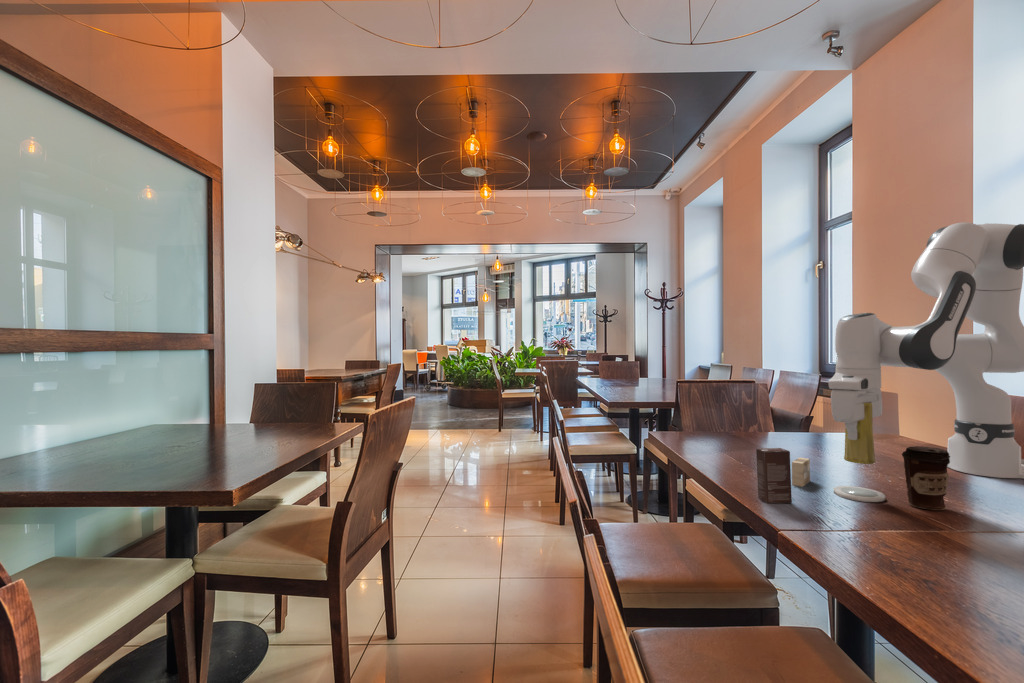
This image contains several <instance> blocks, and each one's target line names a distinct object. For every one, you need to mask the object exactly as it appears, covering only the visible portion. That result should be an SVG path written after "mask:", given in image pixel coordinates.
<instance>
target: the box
mask: <svg viewBox="0 0 1024 683" xmlns="http://www.w3.org/2000/svg"><path fill="white" fill-rule="evenodd" d="M755 451H756V454H755V455H756V473H757V474H756V476H757V478H756V479H757V497H758V500H760V501H762V502H764V503H766V504H778V503H779V504H780V503H781V504H782V503H783V504H784V503H785V504H786V503H788V504H789V503H790V504H792V502H793V500H792V498H793V497H792V469H791V451H790V450H787V449H785V448H781V447H774V448H773V447H768V448H767V447H766V448H765V447H762V448H761V447H760V448H757V447H756V449H755Z"/></svg>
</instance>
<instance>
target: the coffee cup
mask: <svg viewBox="0 0 1024 683" xmlns="http://www.w3.org/2000/svg"><path fill="white" fill-rule="evenodd" d="M901 455H902V456H901V457H902V458H903V466H904V476H905V482H906V489H907V490H906V495H907V498H908V499H907V500H908V505H910V506H912V507H914V508H919V509H924V510H931V511H943V510H946V509H947V507H946V504H945V499H944V497H945V496H946V495H947V489H948V483H949V473H948V467H947V466H948V464H949V463H950V459H949V458H950V456H949V453H948V452H947V450H945V449H943V448H939V447H932V446H931V447H930V446H921V445H920V446H916V445H915V446H908V447H906V449H905V450H904V451H903V452H902V454H901Z"/></svg>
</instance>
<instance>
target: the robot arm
mask: <svg viewBox="0 0 1024 683" xmlns="http://www.w3.org/2000/svg"><path fill="white" fill-rule="evenodd" d="M910 273H911V274H910V276H911V280H912V282H913V284H914V286H915V287H916V289H918V290H920V291H921V292H922V293H924V294H926V295H928V296H930V297H932V298H936V301H935V303H934V306H933V308H932V309H931V312H930V314H929V315H928V318H927V319H926V320H925V321H923V322H921V323H918V324H916V325H908V326H907V325H906V326H892V325H891V324H888V323H886V322H884V321H882V320H880V318H879V317H878V316H877V314H876V313H873V312H861V313H860V312H859V313H855V314H848V315H845V316H843V317H841V318H839V319H838V321H837V323H836V324H837V325H836V330H835V341H834V344H835V346H834V347H835V353H836V357H837V360H836V365H835V373H834V374H833V376H832V377H830V379H829V380H828V388H829V390H831V391H830V392H831V393H830V406H831V407H830V408H831V415H832V418H833V420H834V421H835V422H839V423H844V426H845V427H846V429H847V432H848V439H850V440H857V439H859V432H857V425H858V421H860V420H864V418H865V412H864V403H870V402H872V416H873V418H876V417H880V416H882V414H883V410H884V408H883V407H884V406H883V396H882V367H883V366H885V367H895V368H896V367H897V368H913V369H919V370H925V371H933V370H934V371H935V372H937V373H939V374H940V375H941V376H942V377H944V379H945V380H946V381H947V382H948V384H949V385H950V387H951V389H952V391H953V394H954V399H955V409H956V410H955V411H956V414H955V416H956V419H954V423H953V427H954V432H955V433H954V435H951V436H950V437H948V438H947V450H946V451H947V452H948V453H949V456H950V458H949V459H950V463H949V464H948V466H947V468H949V469H951V470H953V471H957V472H961V473H966V474H970V475H977V476H983V477H989V478H990V477H991V478H999V479H1001V478H1003V479H1023V480H1024V458H1022V446H1020V444H1018V443H1017V441H1016V440H1015V439H1014V438H1015V436H1016V435H1015V433H1016V429H1015V425H1014V424H1013V423H1012V398H1011V396H1010V395H1009V394H1008V393H1007V392H1006V391H1005V390H1004V389H1002V388H1000V387H997V386H995V385H992V384H989V383H987V382H986V379H985V378H984V373H986V374H987V373H991V374H993V373H995V374H996V373H1000V374H1001V373H1002V374H1006V373H1007V374H1017V373H1023V372H1024V324H1023V322H1022V320H1021V317H1020V303H1021V294H1022V288H1023V283H1024V282H1023V280H1024V224H1023V223H1018V224H1009V223H984V224H976V223H972V222H957V223H952V224H950V225H947V226H944V227H940V228H938V229H937V230H935V231H934V232H933V233H932V234H931V235H930V236H929V238H928V240H927V243H926V246H925V249H924V250H923V251H922V253H921V254H920V256H919V257H918V259H917V260H916V261H915V263H914V265H913V268H912V270H911V272H910ZM965 318H966V319H968V320H970V321H972V322H975V323H977V324H980V325H981V326H984V332H983V333H965V334H964V333H962V334H961V333H959V332H960V330H961V329H962V327H963V326H962V325H963V323H964V321H965Z"/></svg>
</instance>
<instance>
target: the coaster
mask: <svg viewBox="0 0 1024 683" xmlns="http://www.w3.org/2000/svg"><path fill="white" fill-rule="evenodd" d="M833 494H835V495H836V496H837V497H839V498H840V497H841V498H844V499H847V500H850V501H856V502H863V503H882V502H885V501H886V495H885V494H884V493H883V492H881V491H878V490H875V489H872V488H871V489H870V488H867V487H862V486H852V485H841V486H840V485H839V486H835V487H834V488H833Z"/></svg>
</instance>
